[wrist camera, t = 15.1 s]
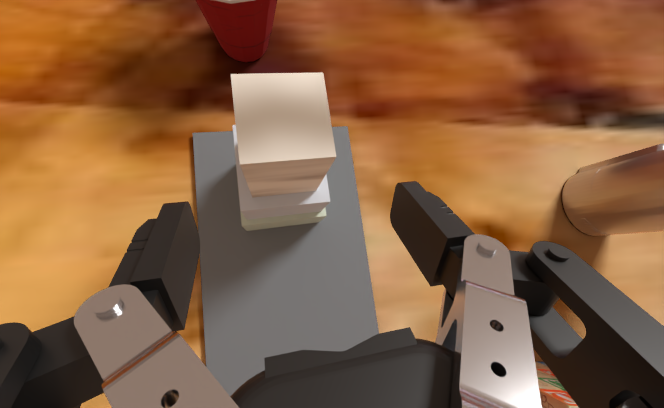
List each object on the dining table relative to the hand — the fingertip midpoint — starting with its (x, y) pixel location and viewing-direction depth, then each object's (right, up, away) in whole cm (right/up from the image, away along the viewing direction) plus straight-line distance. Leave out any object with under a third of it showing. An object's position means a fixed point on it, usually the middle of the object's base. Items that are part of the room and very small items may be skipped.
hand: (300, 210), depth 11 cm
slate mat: (-4, -5, +21) cm, 22 cm away
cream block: (-3, +3, +12) cm, 12 cm away
